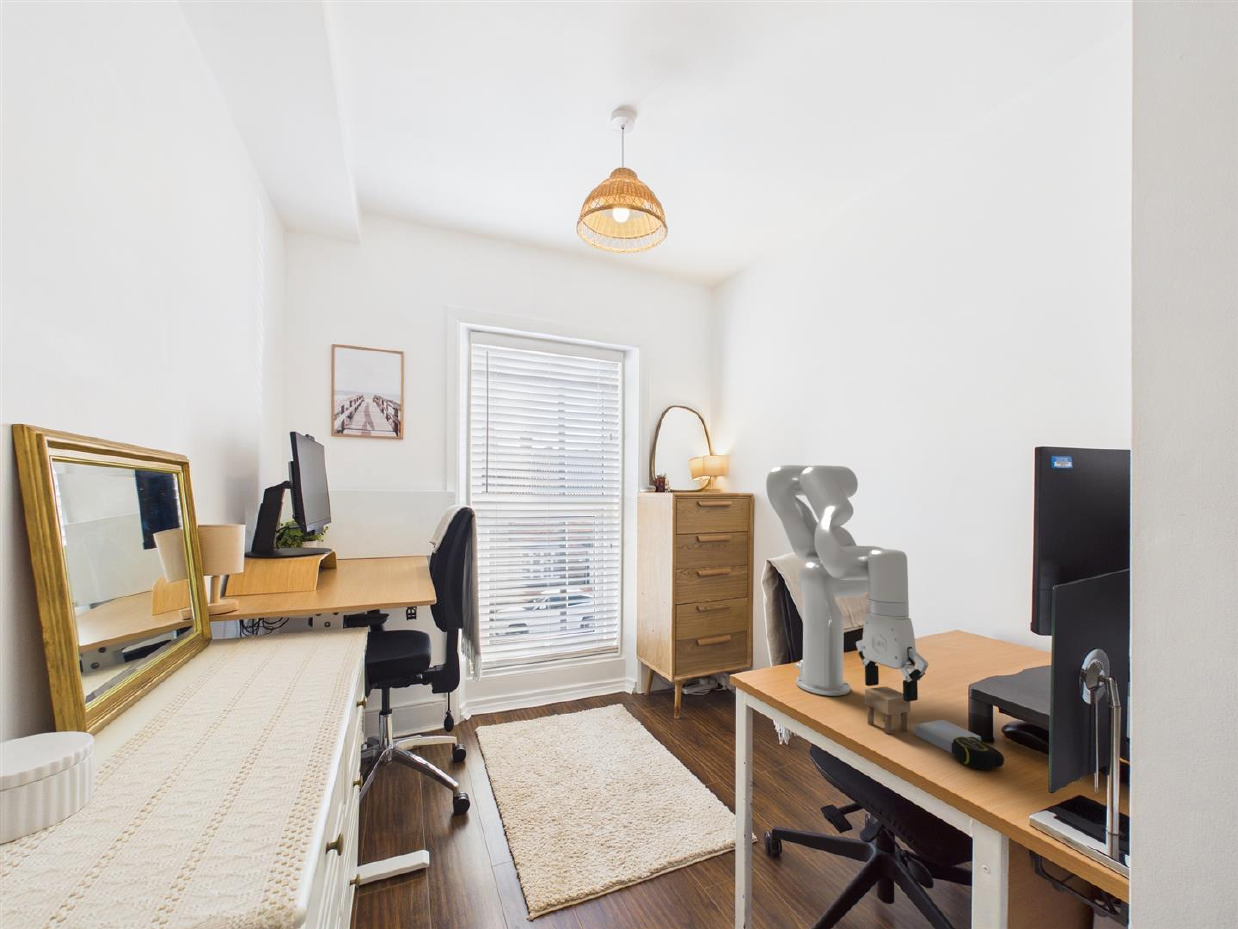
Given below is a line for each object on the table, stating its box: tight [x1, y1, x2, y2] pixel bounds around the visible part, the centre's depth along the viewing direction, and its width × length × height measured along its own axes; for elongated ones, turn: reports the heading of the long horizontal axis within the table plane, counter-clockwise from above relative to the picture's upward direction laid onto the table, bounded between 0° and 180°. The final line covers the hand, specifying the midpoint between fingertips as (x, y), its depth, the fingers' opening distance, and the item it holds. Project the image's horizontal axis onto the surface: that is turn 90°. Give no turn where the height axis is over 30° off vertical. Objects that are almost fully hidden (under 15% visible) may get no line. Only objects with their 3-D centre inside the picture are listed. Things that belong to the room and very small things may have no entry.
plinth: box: [914, 719, 982, 754], centre depth 106 cm, size 8×8×2 cm
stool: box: [864, 686, 911, 735], centre depth 112 cm, size 6×6×7 cm
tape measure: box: [951, 737, 1005, 771], centre depth 98 cm, size 7×7×4 cm
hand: (890, 692), depth 111 cm, fingers open, 9 cm apart
